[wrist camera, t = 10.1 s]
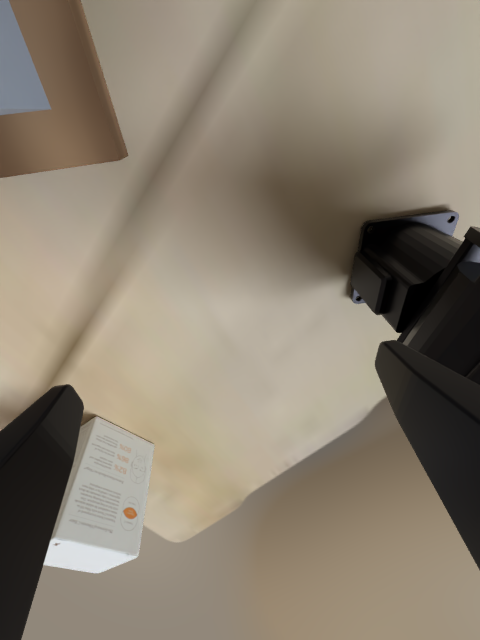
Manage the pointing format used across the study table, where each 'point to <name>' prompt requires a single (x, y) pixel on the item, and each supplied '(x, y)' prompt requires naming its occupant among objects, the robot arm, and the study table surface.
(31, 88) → the blue cube
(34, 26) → the walnut slab
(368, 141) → the study table surface
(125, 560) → the small box
